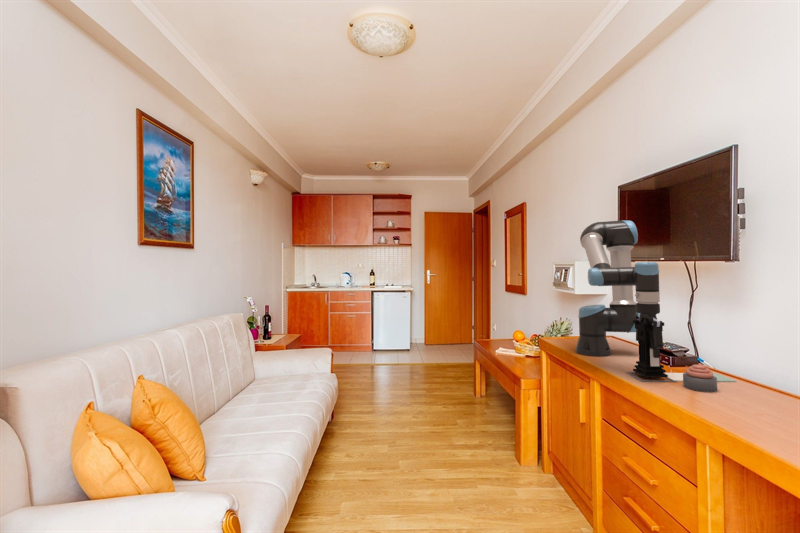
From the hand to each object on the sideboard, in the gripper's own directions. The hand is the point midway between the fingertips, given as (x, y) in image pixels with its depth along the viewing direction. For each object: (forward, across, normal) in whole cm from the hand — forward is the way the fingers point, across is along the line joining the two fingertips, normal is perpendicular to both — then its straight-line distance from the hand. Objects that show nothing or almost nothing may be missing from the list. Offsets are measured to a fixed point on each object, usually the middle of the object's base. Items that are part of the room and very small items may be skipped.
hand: (649, 363), depth 138 cm
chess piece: (+4, 0, 0) cm, 4 cm away
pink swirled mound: (+1, +12, +9) cm, 16 cm away
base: (+5, +12, +9) cm, 16 cm away
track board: (+5, 0, +10) cm, 12 cm away
